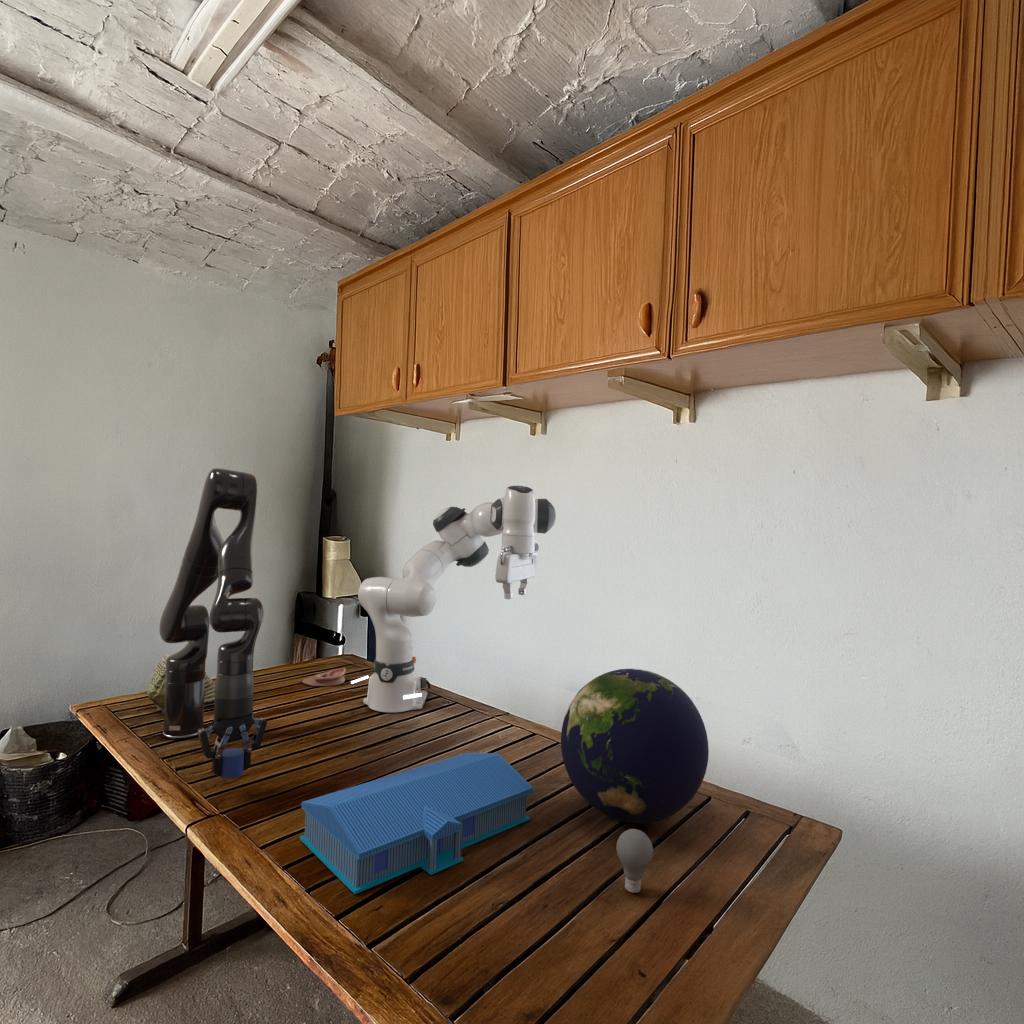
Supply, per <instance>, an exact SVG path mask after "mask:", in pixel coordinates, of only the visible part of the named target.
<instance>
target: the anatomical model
mask: <svg viewBox="0 0 1024 1024" xmlns="http://www.w3.org/2000/svg"><path fill="white" fill-rule="evenodd" d="M346 672H347V669H346V668H345V667H340V668H336V669H333V670H329V671H326V672H321V673H317V674H315V675H313V676H309V677H307V678H304V679H303V680H302V681H301V683H303V684H305V685H308V686H313V687H329V686H336V685H341V684H343V683H345V681H346V678H345V675H346Z"/></svg>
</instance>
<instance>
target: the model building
mask: <svg viewBox="0 0 1024 1024" xmlns="http://www.w3.org/2000/svg"><path fill="white" fill-rule="evenodd" d="M533 793H534V787H533V786H532V785H531V784H530V783H529V782H528V781H527V780H526V779H525V778H524V777H523V776H522V775H521V774H520V773H519V772H518V771H517V770H516V769H515V768H514V767H513V766H512V765H511V764H510V763H509V762H508V761H507V760H506V759H505V758H504V757H503V756H502V755H501V754H500V753H497V752H464V753H460V754H457V755H454V756H451V757H447V758H444V759H441V760H438V761H434V762H431V763H427V764H424V765H421V766H418V767H414V768H411V769H407V770H404V771H401V772H398V773H394V774H390V775H388V776H384V777H381V778H377V779H374V780H371V781H368V782H367V781H366V782H364V783H360V784H358V785H354V786H351V787H347V788H344V789H341V790H337V791H334V792H330V793H327V794H324V795H321V796H318V797H317V796H316V797H314V798H310V799H308V800H303V801H301V803H300V805H301V806H300V808H301V809H302V810H303V811H304V812H305V815H304V816H305V817H304V821H305V822H304V834H303V835H300V836H299V840H300V841H301V842H302V843H303V844H304V845H305V846H306V847H307V848H308V849H309V850H310V852H312V853H313V854H314V855H315V856H316V857H317V858H318V859H319V860H320V861H321V862H322V863H323V864H324V865H325V866H326V867H327V868H328V869H329V870H330V871H331V872H332V873H333V874H334V875H335V876H336V877H337V878H338V879H339V880H340V881H341V883H343V884H344V886H346V887H347V889H349V890H350V891H351V892H352V893H353V895H357V894H359V893H363V892H364V891H366V890H370V889H371V888H373V887H376V886H378V885H381V884H383V883H385V882H388V881H390V880H392V879H394V878H397V877H400V876H402V875H404V874H406V873H409V872H411V871H413V870H416V869H418V868H421V869H422V870H424V872H426V873H427V874H428V875H429V876H433V875H434V874H437V873H440V872H441V871H444V870H445V869H448V868H450V867H452V866H455V865H457V864H459V863H461V862H464V857H462V849H465V848H467V847H470V846H472V845H474V844H476V843H479V842H482V841H484V840H486V839H488V838H490V837H493V836H496V835H497V834H500V833H502V832H506V831H508V830H510V829H512V828H515V827H516V826H519V825H521V824H524V823H526V822H528V821H530V820H531V817H530V816H528V815H527V801H528V795H531V794H533Z"/></svg>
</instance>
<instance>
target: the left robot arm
mask: <svg viewBox="0 0 1024 1024" xmlns="http://www.w3.org/2000/svg"><path fill="white" fill-rule="evenodd" d="M207 473H208V474H207V476H206V477H205V481H204V484H203V488H202V490H201V491H202V492H201V496H200V500H199V504H198V509H197V513H196V518H195V521H194V524H193V527H192V530H191V533H190V536H189V540H188V542H187V545H186V547H185V550H184V553H183V556H182V558H181V559H182V560H181V563H180V567H179V571H178V574H177V577H176V581H175V583H174V585H173V588H172V591H171V593H170V595H169V598H168V599H167V601H166V604H165V607H164V609H163V611H162V613H161V616H160V621H159V625H158V626H159V629H158V631H159V636H160V638H161V640H162V641H163V642H164V643H167V644H180V643H186V645H185V646H184V647H183V648H181V649H180V650H179V651H176V652H174V653H172V654H170V655H171V656H169V657H168V658H167V660H166V674H165V705H164V708H163V709H162V711H161V714H162V716H163V731H162V737H164V738H166V739H169V740H185V739H190V738H191V739H192V738H194V737H197V736H198V740H199V743H200V747H201V752H202V754H203V755H204V757H205V758H206V759H212V760H211V761H212V762H211V771H212V773H213V774H214V775H215V776H216V777H220V776H221V771H222V758H221V756H222V753H223V751H224V750H226V747H227V745H228V743H231V742H233V741H239V742H240V744H241V746H242V749H243V750H244V771H247V770H248V768H249V767H250V766H251V762H252V759H251V758H252V751H253V750H255V749H259V748H260V747H261V745H262V742H263V738H264V735H265V732H266V728H267V725H268V721H267V720H266V719H265V718H264V717H263V716H259V717H254V714H253V712H254V688H255V687H254V686H255V678H254V677H255V676H254V657H255V656H254V654H255V647H256V642H257V638H258V635H259V632H260V629H261V627H262V624H263V621H264V618H265V617H264V616H265V607H264V604H263V602H262V601H261V600H260V599H259V598H257V597H233V598H230V597H231V596H233V595H236V594H241V593H244V592H246V591H249V590H250V589H251V588H252V587H253V585H254V563H253V546H254V545H253V544H254V543H253V542H254V533H255V527H256V515H257V506H258V495H259V493H258V492H259V490H258V489H259V488H258V481H257V478H256V476H255V475H253V474H252V473H249V472H245V471H239V470H233V469H227V468H221V467H220V468H218V467H215V468H212V469H211V470H210V471H209V472H207ZM218 509H223V510H229V511H230V510H231V511H237V512H239V520H238V522H237V523H236V526H235V527H234V529H233V530H232V531H231V533H230V534H229V535H228V537H227V538H226V539H225V540H224V538H223V536H222V534H221V532H220V530H219V528H218V524H217V522H216V518H215V513H216V510H218ZM216 581H217V588H216V593H215V597H214V599H213V603H212V605H211V609H210V612H209V610H208V608H207V607H206V606H205V605H203V604H192V603H194V601H195V600H196V599H197V598H198V597H199V596H201V595H202V594H203V593H204V592H205V591H207V590H208V589H209V588H210V587H211V586H212V585H213V584H215V582H216ZM210 629H212V630H214V631H215V632H216V633H222V634H223V633H236V632H239V633H240V632H244V633H243V634H242V636H241V637H239V638H238V639H235V640H231V641H228V642H224V643H222V644H220V646H219V647H218V649H217V661H216V663H217V664H216V678H215V682H214V684H215V689H214V693H215V704H213V705H214V707H213V708H214V709H213V720H212V722H211V725H209V726H207V727H204V722H205V721H204V718H205V706H204V693H205V672H206V664H207V663H206V661H207V658H208V650H209V649H208V648H209V638H210V637H209V636H210ZM252 727H254V731H253V735H252V738H251V739H250V736H249V734H248V732H250V729H251V728H252ZM213 732H214V733H215V734H216V738H215V741H214V746H213V749H212V748H211V745H210V740H209V739H210V738H211V737H212V733H213Z"/></svg>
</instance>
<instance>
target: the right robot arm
mask: <svg viewBox="0 0 1024 1024" xmlns="http://www.w3.org/2000/svg"><path fill="white" fill-rule="evenodd" d="M504 491H505V492H504V495H503V496H502V497H500V498H497V499H496V500H495V501H494V502H484V503H479V504H478V505H477V506H475V507H474V508H473V509H472V510H471V511H470V512H468V511H466V508H465V507H463V508H460V507H457V506H449V507H445V508H443V509H441V510H440V511H438V513H437V514H436V515H435V517H434V519H433V521H432V526H433V528H434V530H435V532H436V533H438V535H439V537H440V538H441V539H442V540H439V539H438V540H433V541H431V542H429V543H427V544H426V545H424V546H423V547H422V548H420V549H419V550H417V552H416V553H415V554H413V555H412V557H410V558H409V559H408V560H407V561H406V562H405V563H404V564H403V567H402V569H401V570H402V571H401V576H402V577H399V578H397V577H389V576H388V577H387V576H373V577H368V578H365V579H364V580H363V581H362V582H361V584H360V585H359V588H358V590H357V598H358V603H359V605H360V606H361V607H362V608H363V609H364V610H365V611H366V612H367V614H368V616H369V618H370V620H371V622H372V625H373V628H374V632H375V658H374V660H373V661H374V662H373V673H372V674H371V675H370V676H369V675H365V676H362V677H359V678H357V679H354V680H350V684H352V685H353V684H355V683H358V682H361V681H364V680H367V679H368V685H367V686H368V687H367V696H366V697H364V698H363V699H362V703H363V704H364V705H367V706H368V708H369V709H371V710H373V711H376V712H381V713H403V712H407V711H412V710H413V711H414V710H421V709H423V707H424V705H425V702H426V699H427V697H428V691H426V690H424V688H426V687H427V688H428V689H431V688H432V685H431V684H430V681H429V680H427V677H423V676H420V675H418V674H417V672H416V671H415V664H416V662H417V656H413V655H414V654H413V653H414V635H413V633H412V630H411V629H410V628H408V626H406V625H405V624H404V622H403V620H402V618H401V617H409V618H410V617H411V618H416V617H417V618H418V617H426V616H428V615H430V614H431V613H432V612H433V611H434V609H435V607H436V604H437V594H436V591H435V588H434V587H433V585H434V584H435V583H436V582H437V580H438V579H439V578H440V577H441V576H442V575H443V574H444V573H445V571H446V570H447V568H448V567H449V566H450V565H451V564H452V563H454V562H456V566H457V567H460V566H462V567H465V568H471V567H475V566H477V565H479V564H482V562H483V561H484V560H485V559H486V557H487V556H488V554H489V551H490V549H489V546H488V544H487V542H486V541H485V540H484V539H483V537H484V538H490V537H496V536H499V535H501V547H500V549H501V550H500V553H499V554H498V556H497V559H496V565H495V575H494V576H495V577H494V578H495V582H496V583H498V584H502V589H503V592H504V593H503V595H504V597H503V598H504V599H505V600H512V599H513V598H514V597H513V594H514V593H513V591H512V587H513V583H516V582H520V584H519V588H518V592H517V593H518V595H519V596H526V594H527V588H528V586H529V582H530V581H529V580H530V579H532V578H535V576H536V574H537V570H538V560H539V559H538V552H540V544H539V542H537V541H536V539H535V533H537V534H544V535H545V534H546V533H548V532H549V531H550V530H551V529H552V528H553V527H554V525H555V522H556V516H557V513H556V509H555V507H554V505H553V503H552V502H550V501H549V500H548V499H547V498H536V497H535V496H536V495H535V491H534V489H532V488H531V487H529V486H525V485H509V486H507V487H506V488H505V490H504Z"/></svg>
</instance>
